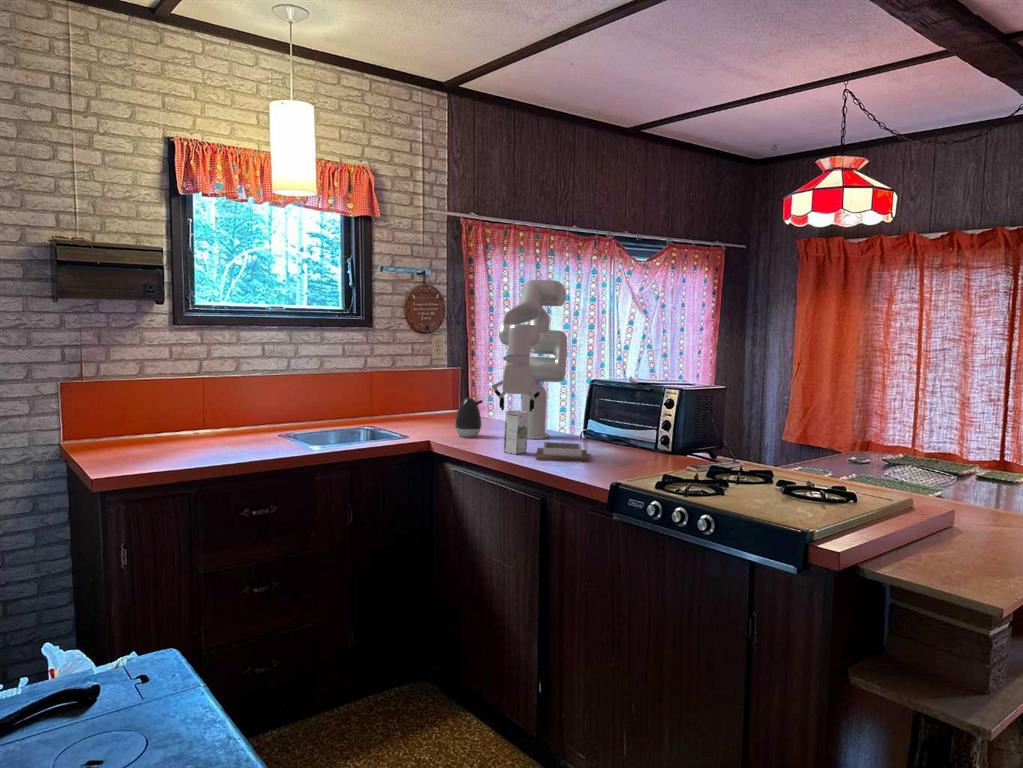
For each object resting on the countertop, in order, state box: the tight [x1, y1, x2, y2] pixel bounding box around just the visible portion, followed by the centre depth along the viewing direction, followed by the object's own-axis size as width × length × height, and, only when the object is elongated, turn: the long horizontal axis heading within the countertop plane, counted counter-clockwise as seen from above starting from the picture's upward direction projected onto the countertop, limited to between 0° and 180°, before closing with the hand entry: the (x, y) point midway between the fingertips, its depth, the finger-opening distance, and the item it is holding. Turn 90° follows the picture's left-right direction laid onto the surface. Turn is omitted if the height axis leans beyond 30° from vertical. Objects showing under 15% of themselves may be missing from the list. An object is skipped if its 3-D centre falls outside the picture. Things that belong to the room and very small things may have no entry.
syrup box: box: [503, 409, 528, 455], centre depth 254 cm, size 6×6×14 cm
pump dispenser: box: [454, 397, 484, 438], centre depth 287 cm, size 10×10×15 cm
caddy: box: [535, 441, 589, 463], centre depth 251 cm, size 17×17×4 cm
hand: (516, 410), depth 253 cm, fingers open, 9 cm apart
